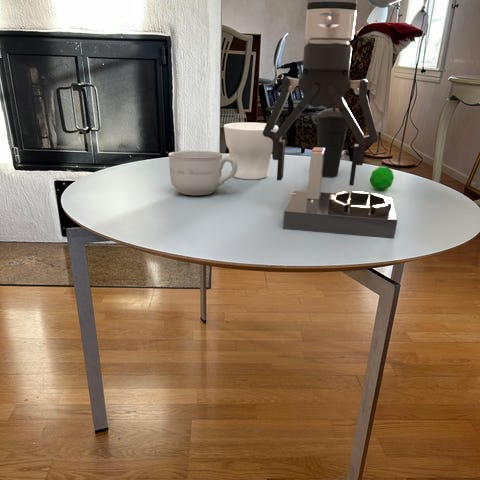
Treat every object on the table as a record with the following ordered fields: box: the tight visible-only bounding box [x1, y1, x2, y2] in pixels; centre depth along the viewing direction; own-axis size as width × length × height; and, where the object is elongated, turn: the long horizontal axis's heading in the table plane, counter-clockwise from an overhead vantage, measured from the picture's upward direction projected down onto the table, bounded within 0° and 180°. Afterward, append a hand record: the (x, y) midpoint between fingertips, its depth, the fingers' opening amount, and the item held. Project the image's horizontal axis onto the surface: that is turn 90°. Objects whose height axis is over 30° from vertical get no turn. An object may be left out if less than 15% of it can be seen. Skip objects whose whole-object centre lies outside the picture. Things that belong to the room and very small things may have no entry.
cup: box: [223, 121, 279, 180], centre depth 111 cm, size 12×12×11 cm
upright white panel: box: [307, 146, 325, 199], centre depth 85 cm, size 5×2×8 cm, turn 167°
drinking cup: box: [316, 105, 349, 178], centre depth 111 cm, size 8×8×20 cm
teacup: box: [167, 150, 238, 196], centre depth 97 cm, size 14×11×8 cm
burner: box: [329, 190, 391, 217], centre depth 81 cm, size 10×10×2 cm
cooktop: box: [282, 190, 398, 239], centre depth 85 cm, size 19×16×3 cm
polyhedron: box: [369, 165, 395, 191], centre depth 104 cm, size 5×5×5 cm
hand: (315, 181), depth 86 cm, fingers open, 12 cm apart
